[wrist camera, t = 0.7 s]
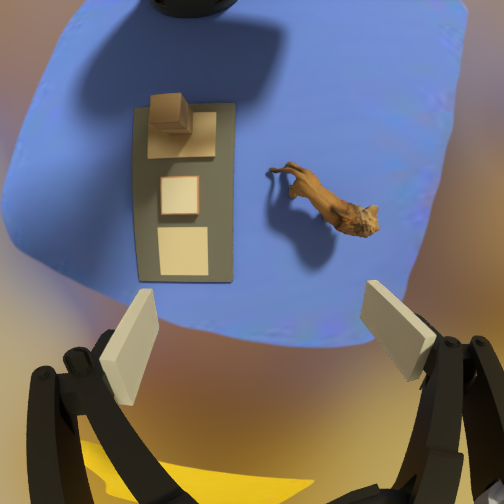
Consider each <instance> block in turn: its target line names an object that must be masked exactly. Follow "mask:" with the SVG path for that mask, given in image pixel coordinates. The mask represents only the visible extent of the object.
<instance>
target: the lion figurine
mask: <svg viewBox="0 0 504 504" xmlns="http://www.w3.org/2000/svg"><path fill="white" fill-rule="evenodd" d="M269 171H270V172H273V173H279V172H289V173H292V174H293V175H295V176H296V180H295V181H294V183H293V185H289V196H290V197H291V198H296V197H297V195H298V196H301V197H306V198H308V199H309V200H310V201H311V203H312V205H313V206H314V207H315V208H316V209H317V210H318V211H319V212H320V213H321V214H322V215H323V220H324V221H325V222H326V221H328V222H329V223H330V224H332V225H333V226H334V227H335V229H336V230H338V231H339V232H343V233H344V234H349V235H352V236H360V237H364V238H367V237H368V236H371V235H372V234H373V233H375V232H376V231H379V230H380V229H379V228H378V227H379V225H378V222H377V216H376V214H377V212H378V207H377V206H376V205H370V206H369V207H367V208H365V209H364V208H363V207H361V206H356V205H354V204H352V203H347V202H346V201H344V200H341V199H339V198H338V197H337V196H336V195H335V194H333V193H332V192H331V191H329V190H327V189H326V188H324V187H323V186H322V185H321V183H320V181H319V179H318V178H317V176H316V175H314V174H313V173H312V172H311V171H310V170H308V169H304V168H302V167H300V166H298V165H296V164H295V163H293V162H288V163H287V164H286V168H280V169H276V168H269Z"/></svg>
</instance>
